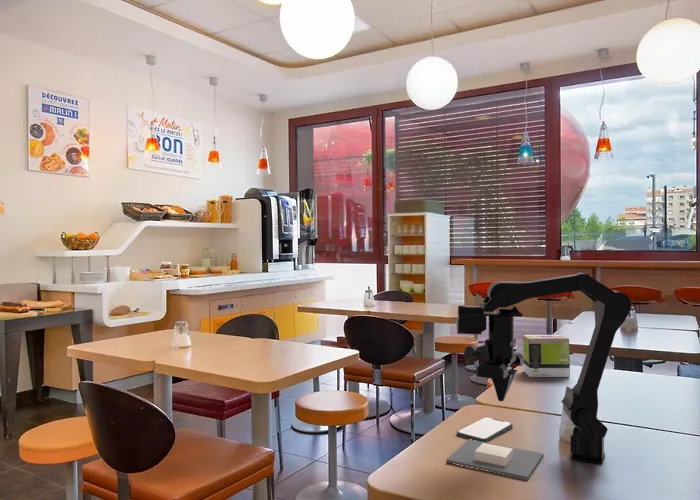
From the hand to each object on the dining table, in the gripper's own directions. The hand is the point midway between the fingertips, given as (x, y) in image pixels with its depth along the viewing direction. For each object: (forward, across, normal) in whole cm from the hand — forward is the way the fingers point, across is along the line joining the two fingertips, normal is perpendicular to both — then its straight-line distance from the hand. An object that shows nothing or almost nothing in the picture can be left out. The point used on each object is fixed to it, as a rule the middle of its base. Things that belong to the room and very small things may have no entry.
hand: (501, 400), depth 129 cm
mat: (+12, +4, 0) cm, 13 cm away
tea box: (+13, -87, -8) cm, 88 cm away
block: (+11, +3, 0) cm, 11 cm away
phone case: (+13, -13, -8) cm, 20 cm away
